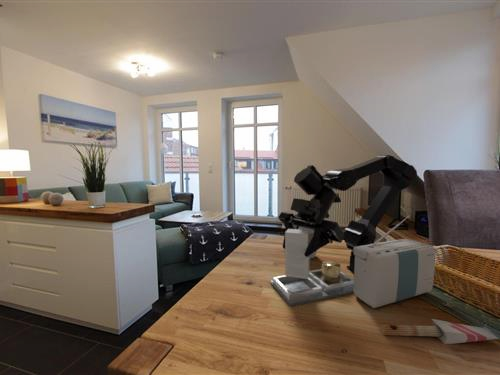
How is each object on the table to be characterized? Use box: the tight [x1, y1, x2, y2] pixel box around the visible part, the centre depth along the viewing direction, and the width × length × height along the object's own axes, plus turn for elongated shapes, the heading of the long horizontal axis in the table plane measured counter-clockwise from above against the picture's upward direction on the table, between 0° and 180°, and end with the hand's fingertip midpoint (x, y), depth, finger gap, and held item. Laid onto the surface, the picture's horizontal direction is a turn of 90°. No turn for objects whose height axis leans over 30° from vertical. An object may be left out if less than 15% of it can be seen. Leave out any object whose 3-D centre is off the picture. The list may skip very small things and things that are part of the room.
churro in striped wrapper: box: [380, 318, 499, 345], centre depth 47 cm, size 4×3×20 cm
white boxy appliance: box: [352, 215, 436, 309], centre depth 61 cm, size 21×8×20 cm, turn 112°
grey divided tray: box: [269, 260, 354, 307], centre depth 66 cm, size 21×12×6 cm, turn 109°
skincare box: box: [284, 229, 310, 279], centre depth 64 cm, size 6×4×12 cm
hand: (294, 251), depth 63 cm, fingers closed on skincare box, 7 cm apart
